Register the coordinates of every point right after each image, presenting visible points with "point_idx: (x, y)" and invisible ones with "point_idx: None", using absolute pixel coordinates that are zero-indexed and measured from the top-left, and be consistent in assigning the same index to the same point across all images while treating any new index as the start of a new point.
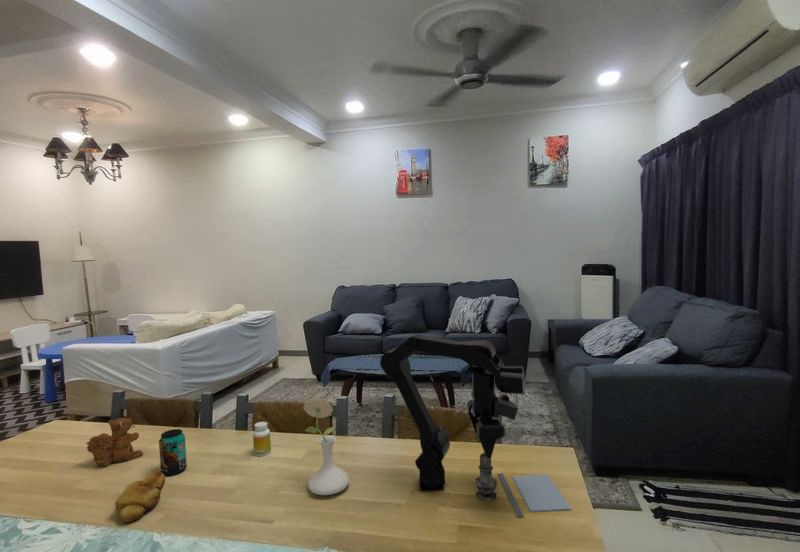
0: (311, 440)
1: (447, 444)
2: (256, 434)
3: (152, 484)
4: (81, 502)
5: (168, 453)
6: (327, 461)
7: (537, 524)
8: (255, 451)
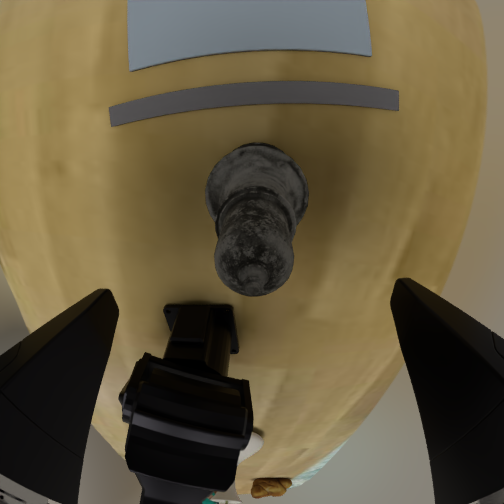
0: (108, 430)
1: (171, 409)
2: None
3: (266, 493)
4: None
5: None
6: None
7: (426, 67)
8: None
